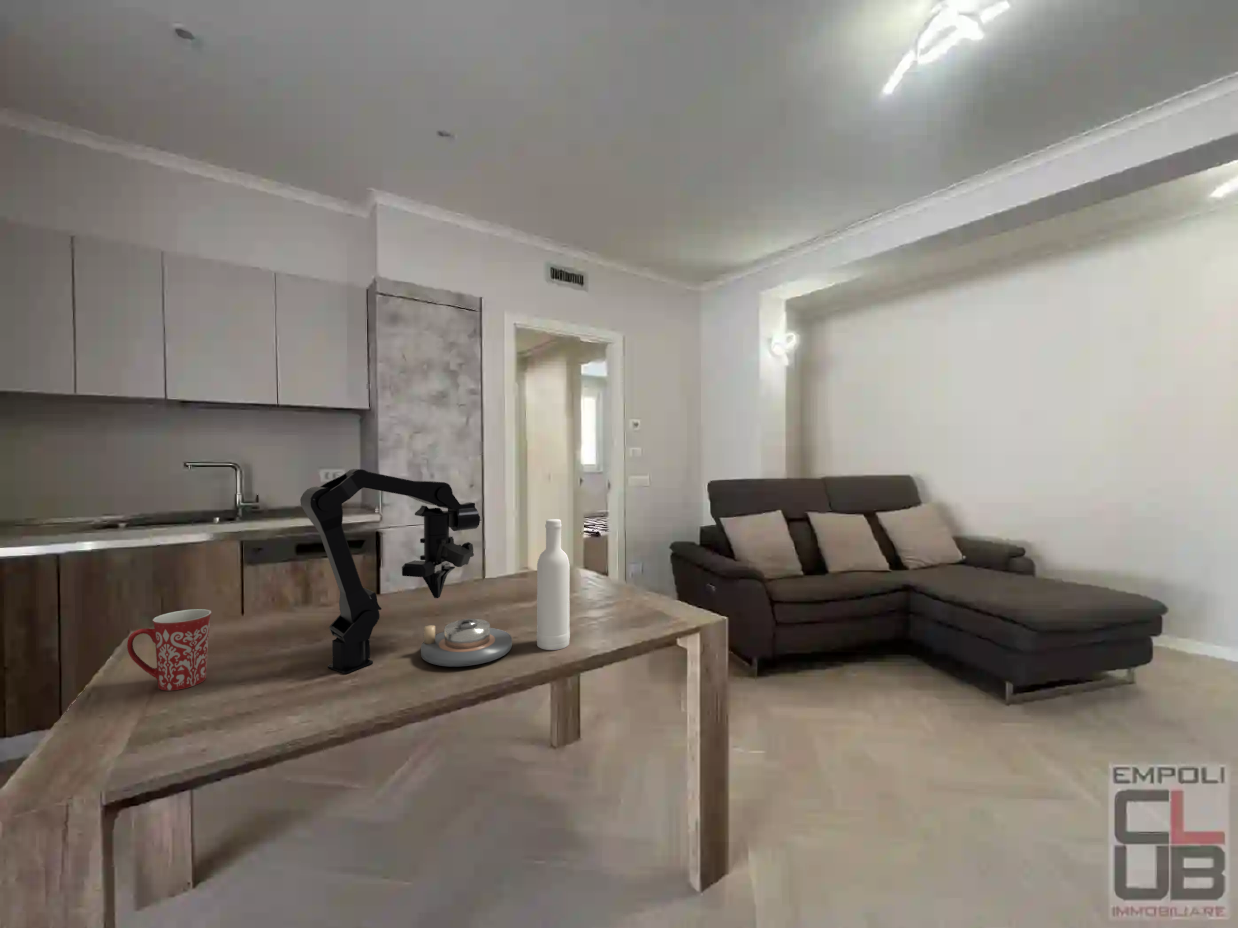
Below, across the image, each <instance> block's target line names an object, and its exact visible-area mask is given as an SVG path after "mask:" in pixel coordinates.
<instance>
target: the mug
mask: <svg viewBox="0 0 1238 928" xmlns="http://www.w3.org/2000/svg"><path fill="white" fill-rule="evenodd" d="M211 615H212V610H211V609H204V608H202V609H201V608H199V609H197V608H195V609H194V608H193V609H182V610H177V611H172V612H167V613H163V614H160V615H157V616H156V617H154V618H152V623H153V625H154V628H148V627H147V628H145V627H144V628H139V629H137V630H134V631H133V632H132V633H131V634H130V635H129V637H128V639H127V643H126V646H127V647H126V649H127V653H128V655H129V656H130V658H131V660H132V661H133V662H134V663H136V665H138V666H139V667H140V668H141V669H142V670H143V671H144V672H146V673H148V674H149V675H150V676H152V677H153V678H155V679H156V680H157V687H158V689H159V690H161V691H167V692H169V691H177V690H178V691H179V690H184V689H187V688H191V687H195V686H197V685H199V684H201V683H202V682H204V681H205V680H206V679H207V678H206V677H207V664H208V653H209V652H208V651H209V638H210V622H211V621H210V619H211ZM143 634H145V635H148V636H149V637H150V638H151V640H152V642H153V644H155V657H156V667H152V666H151V665H149V664H147V662H145V661H144V660H142V659H141V658H140V656H139V655H138V654H137V653H136V652H135V650H134V640H135V638H136V637H137V636H139V635H143Z"/></svg>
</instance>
